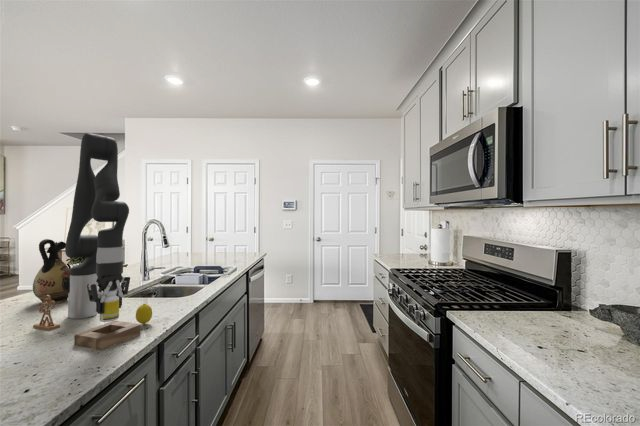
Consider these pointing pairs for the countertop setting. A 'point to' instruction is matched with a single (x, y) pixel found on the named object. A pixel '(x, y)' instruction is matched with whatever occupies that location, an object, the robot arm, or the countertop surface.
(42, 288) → the ceramic jug
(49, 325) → the brown figurine
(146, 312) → the lemon
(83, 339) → the block
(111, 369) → the countertop surface
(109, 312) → the supplement bottle
